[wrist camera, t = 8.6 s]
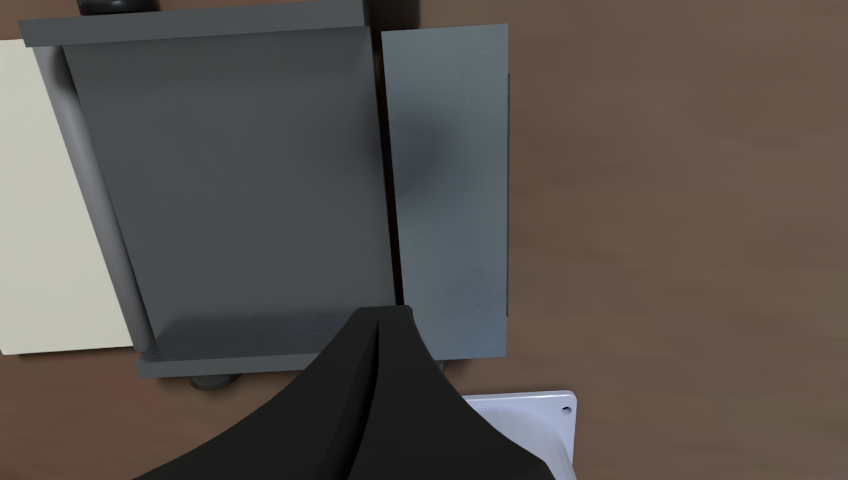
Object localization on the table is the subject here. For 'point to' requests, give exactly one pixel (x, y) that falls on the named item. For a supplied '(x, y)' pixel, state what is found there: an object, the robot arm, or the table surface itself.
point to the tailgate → (58, 219)
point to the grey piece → (295, 175)
